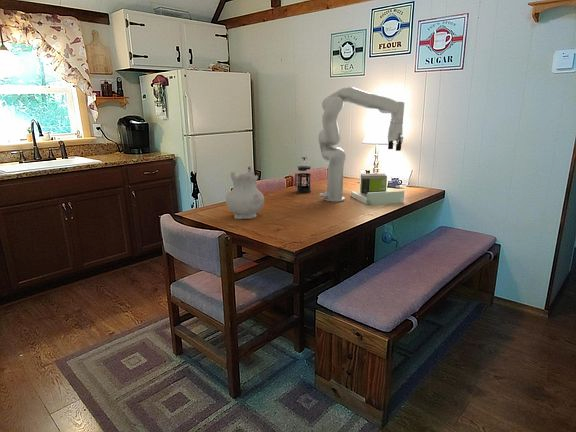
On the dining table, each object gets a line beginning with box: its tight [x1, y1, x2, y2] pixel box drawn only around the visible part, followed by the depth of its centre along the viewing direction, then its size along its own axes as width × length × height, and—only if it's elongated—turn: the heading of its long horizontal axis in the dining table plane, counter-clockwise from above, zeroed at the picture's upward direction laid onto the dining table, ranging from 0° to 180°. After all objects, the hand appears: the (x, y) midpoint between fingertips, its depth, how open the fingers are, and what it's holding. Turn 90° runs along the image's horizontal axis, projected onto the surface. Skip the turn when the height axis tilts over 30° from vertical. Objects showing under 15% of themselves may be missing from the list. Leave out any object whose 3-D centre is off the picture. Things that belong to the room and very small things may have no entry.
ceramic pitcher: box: [225, 166, 265, 220], centre depth 196 cm, size 22×20×25 cm
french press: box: [294, 156, 312, 194], centre depth 252 cm, size 12×9×23 cm
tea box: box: [359, 172, 388, 197], centre depth 237 cm, size 15×10×15 cm, turn 84°
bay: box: [350, 190, 405, 206], centre depth 234 cm, size 23×24×7 cm
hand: (394, 149), depth 240 cm, fingers open, 9 cm apart
